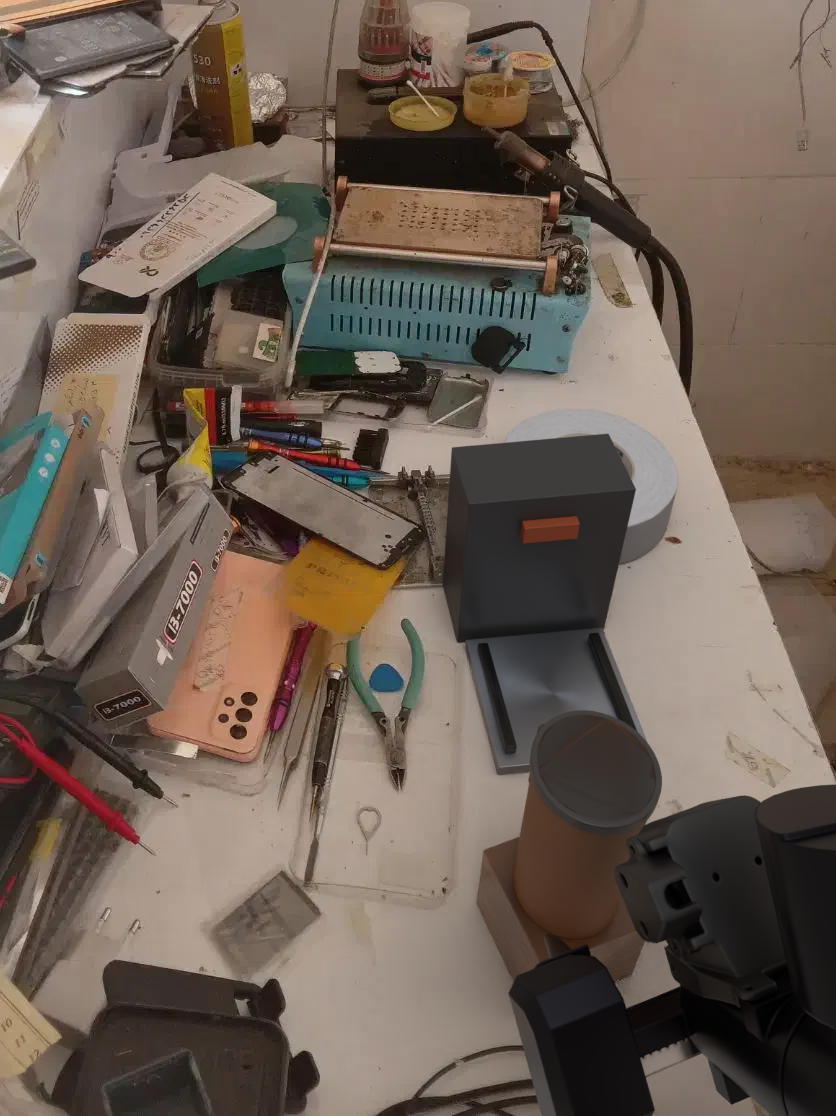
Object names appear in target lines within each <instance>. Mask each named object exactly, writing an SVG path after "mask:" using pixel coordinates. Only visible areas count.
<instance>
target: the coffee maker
mask: <svg viewBox="0 0 836 1116" xmlns="http://www.w3.org/2000/svg"><path fill="white" fill-rule="evenodd" d="M450 453H451V454H450V456H451V457H450V467H449V468H450V470H449V484H448V486H449V487H448V496H447V497H448V500H447V514H446V529H445V542H444V543H445V544H444V559H443V573H442V588H443V592H444V597H445V600H446V604H447V607H448V611H449V612H448V613H449V615H450V620H451V624H452V628H453V632H454V635H455V636H454V637H455V639H456V643H459V644H460V643H466V640H471V639H482V638H493V637H504V636H515V635H525V634H536V633H547V632H558V631H569V630H580V629H591V628H602V629H603V630H605V627H606V623H607V617H608V613H609V609H610V605H611V602H612V596H613V591H614V588H615V584H616V583H615V582H616V578H617V574H618V569H619V565H620V564H619V562H620V557H621V553H622V549H623V544H624V540H625V535H626V531H627V527H628V522H629V518H630V514H631V509H632V505H633V501H634V496H635V492H636V488H635V486H634V484H633V482H632V480H631V478H630V476H629V474H628V472H627V470H626V468H625V466H624V464H623V462H622V460H621V458H620V456H619V454H618V452H617V450H616V448H615V446H614V444H613V442H612V440H611V437H610V435H609V434H597V435H586V436H575V437H563V438H552V439H541V440H530V441H518V442H507V443H504V442H497V443H496V442H495V443H485V444H476V445H475V444H474V445H463V446H462V445H461V446H452V447H451V452H450Z"/></svg>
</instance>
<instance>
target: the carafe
mask: <svg viewBox="0 0 836 1116" xmlns="http://www.w3.org/2000/svg"><path fill="white" fill-rule="evenodd" d="M646 740H647V739H646ZM646 740H645V739H644V738H643V737H642V736H641V735H640V734H639V733H638V732H637V731H636V730H634V729H633V728H632V727H631V726H629V725H628V724H626V723H625V722H623V721H621V720H619V719H617V718H615V717H613V716H610V715H607V714H604V713H601V712H596V711H587V710H578V711H570V712H566V713H563V714H560V715H558V716H556V717H554V718H552V719H551V720H549V721H548V722H547V723H545V724H541V725H540V726H539V727H538V729H537V735H536V736H535V739H534V741H533V744H532V748H531V754H530V762H529V765H530V772H528V773H529V774H528V787H527V792H526V799H525V804H524V811H523V815H522V821H521V825H520V831H519V835H518V837H519V842H518V847H517V853H516V858H515V864H514V869H513V884H514V889H515V892H516V896H517V898H518V900H519V903H520V904H521V906H522V908H523V909H524V911H525V912H526V913H527V915H528V916H529V917H530V918H531V919H532V920H533V921H534V922H535V923H536V924H537V925H538V926H540V927H541V928H543V929H544V930H546V931H548V932H549V933H551V934H554V935H556V936H559V937H563V938H567V939H585V938H589V937H592V936H595V935H597V934H599V933H600V932H602V931H603V930H605V929H606V928H607V927H608V926H609V924H610V923H611V922H612V920H613V918H614V916H615V914H616V912H617V909H618V906H619V903H620V900H621V897H622V896H621V893H620V891H619V889H618V886H617V884H616V881H615V877H614V869H615V866H617V865H620V864H622V863H625V862H627V861H628V860H629V851H628V849H627V845H626V839H627V838H630V837H632V836H635V835H637V834H639V832H640V830H641V829H642V828H643V827H644V826H645V825H646V824H647V823H648V821H649V820H650V818H651V816H652V815H653V814H654V812H655V810H656V808H657V806H658V803H659V801H660V798H661V794H662V789H663V775H662V768H661V766H660V763H659V759H658V758H657V755H656V754H655V752H654V749H653V748H652V747H651V745H650V744H649V742H648V741H647V742H648V743H647V742H646Z"/></svg>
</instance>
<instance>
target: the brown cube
mask: <svg viewBox="0 0 836 1116" xmlns="http://www.w3.org/2000/svg"><path fill="white" fill-rule="evenodd" d="M518 842H519V836H518V837H515V838H512V839H509V840H506V841H503V842H501V843H498V844H496V845H493V846H491V847H488V848H485V849H483V853H482V859H481V867H480V874H479V880H478V888H477V895H476V905H477V907H478V910H479V911H480V913H481V916H482V917H483V920H484V922H485V924H486V926H487V928H488V930H489V932H490V934H491V936H492V938H493V941H494V943H495V946H496V947H497V949H498V951H499V955H500V956H501V958H502V960H503V963H504V964H505V966H506V968H507V971H508V972H509V974H510V977H511V979H512V981H513V982H514V980H515V978H516V976H517V975H519V974H522V973H524V972H527V971H529V970H532V969H533V968H534V967H535V966H536V965H537V964H538V963H539V962H541V961H544V960H547V959H549V955H548V951H547V947H546V944H545V940H544V935H546V934H549V932H548V931H546V930H544V929H543V928H541V927H540V926H538V925H537V924H536V923H535V922H534V921H533V920H532V919H531V918H530V917H529V916H528V915H527V913H526V912H525V911H524V909H523V908H522V906H521V904H520V903H519V900H518V898H517V896H516V892H515V889H514V884H513V869H514V864H515V858H516V853H517V847H518ZM553 935H554V934H553ZM555 936H556V935H555ZM557 937H558V938H560V939H561V940H563V941H564V942H565V943H566V944H567V945H568V946H569V947H570V948H571V949H575V948H577V947H580V946H582V945H585V944H587V945H588V946H589V950H590V954H591V956H595V957H596V958H597V959H598V960H599V961H600V962H601V963H602V964H604V965H605V966H606V967H607V969H608V971H609V973H610V975H611V977H612V978H613V980H614V982H615V983H616V982H617V981H619V980H622V979H624V978H627V977H629V976H631V975H633V973H634V971H635V968H636V965H637V963H638V960H639V958H640V955H641V953H642V950H643V948H644V945H645V944H646V943H645V942H646V941H644V940H643V939H642V938H641V937H640V935H639V934H638V933H637V931H636V929H635V927H634V925H633V922H632V920H631V918H630V915H629V913H628V910H627V908H626V905H625V903H624V901H623V898H622V897H621V900H620V903H619V906H618V909H617V912H616V914H615V916H614V918H613V920H612V922H611V923H610V924H609V926H608V927H607V928H606V929H605V930H603V931H602V932H600V933H599V934H597V935H595V936H592V937H589V938H585V939H567V938H563V937H559V936H557Z"/></svg>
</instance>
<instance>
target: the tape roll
mask: <svg viewBox="0 0 836 1116" xmlns="http://www.w3.org/2000/svg"><path fill="white" fill-rule="evenodd" d="M597 434H609V435H610V437H611V440H612V442H613V444H614V446H615V448H616V450H617V452H618V454H619V456H620V458H621V460H622V462H623V464H624V466H625V468H626V470H627V472H628V474H629V476H630V478H631V480H632V482H633V484H634V486H635V488H636V492H635V496H634V501H633V505H632V509H631V514H630V518H629V522H628V527H627V531H626V535H625V540H624V544H623V549H622V553H621V557H620V562H619V565H623V564H627V563H630V562H633V561H635V560H637V559H639V558H642V557H643V556H645V555H647V554H648V553H649V552H651V551H652V550H653V549H654V548H656V546H657V545H658V544H659V543H660V542H661V540H663V539H662V538H663V537H664V535H665V534H666V531H667V529H668V525H669V522H670V518H671V513H672V509H673V505H674V502H675V499H676V494H677V491H678V486H679V485H678V484H679V473H678V469H677V466H676V463H675V461H674V459H673V456H672V455H671V453H670V451H669V450H668V449H667V448H666V446H665V445H664V443H662V442H661V440H659V439H658V438H657V437H656V436H655V435H654V434H653V433H651V432H650V431H648V430H647V429H645V427H642V426H641V425H639V424H638V423H636V422H634V421H632V420H630V419H628V418H626V417H623V416H621V415H618V414H614V413H611V412H607V411H602V410H597V409H591V408H561V409H554V410H548V411H544V412H541V413H537V414H535V415H533V416H530V417H528V418H525V420H523V421H521V422H519V423H518V424H516V426H515V427H513V429H511V431H510V432H508V433H507V435H506V437H505V440H504V441H503V443H507V442H518V441H530V440H541V439H552V438H563V437H575V436H586V435H597Z"/></svg>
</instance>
